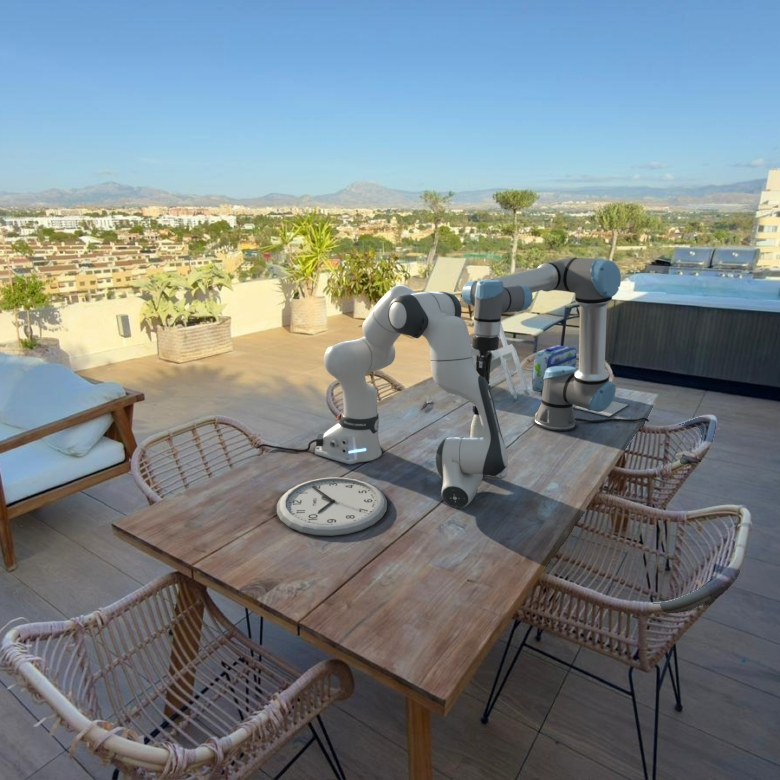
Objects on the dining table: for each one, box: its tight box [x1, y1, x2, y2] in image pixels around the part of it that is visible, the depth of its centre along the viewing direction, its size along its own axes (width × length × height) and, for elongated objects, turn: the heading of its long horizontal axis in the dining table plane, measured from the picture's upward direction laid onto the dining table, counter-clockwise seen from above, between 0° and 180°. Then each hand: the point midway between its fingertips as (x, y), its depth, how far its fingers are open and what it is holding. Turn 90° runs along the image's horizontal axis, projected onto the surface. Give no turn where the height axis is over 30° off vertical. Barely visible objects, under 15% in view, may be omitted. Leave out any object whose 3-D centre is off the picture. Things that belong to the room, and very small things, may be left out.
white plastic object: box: [471, 323, 531, 400], centre depth 245 cm, size 37×45×31 cm
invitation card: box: [573, 400, 629, 418], centre depth 226 cm, size 21×1×15 cm
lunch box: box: [531, 345, 577, 393], centre depth 245 cm, size 26×11×21 cm, turn 134°
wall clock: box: [276, 476, 388, 537], centre depth 142 cm, size 30×2×30 cm
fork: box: [420, 395, 435, 411], centre depth 224 cm, size 3×16×2 cm, turn 160°
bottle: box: [469, 414, 484, 437], centre depth 160 cm, size 5×5×22 cm
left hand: (477, 454), depth 162 cm, fingers closed on bottle, 5 cm apart
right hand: (480, 411), depth 157 cm, fingers closed on cap, 4 cm apart
